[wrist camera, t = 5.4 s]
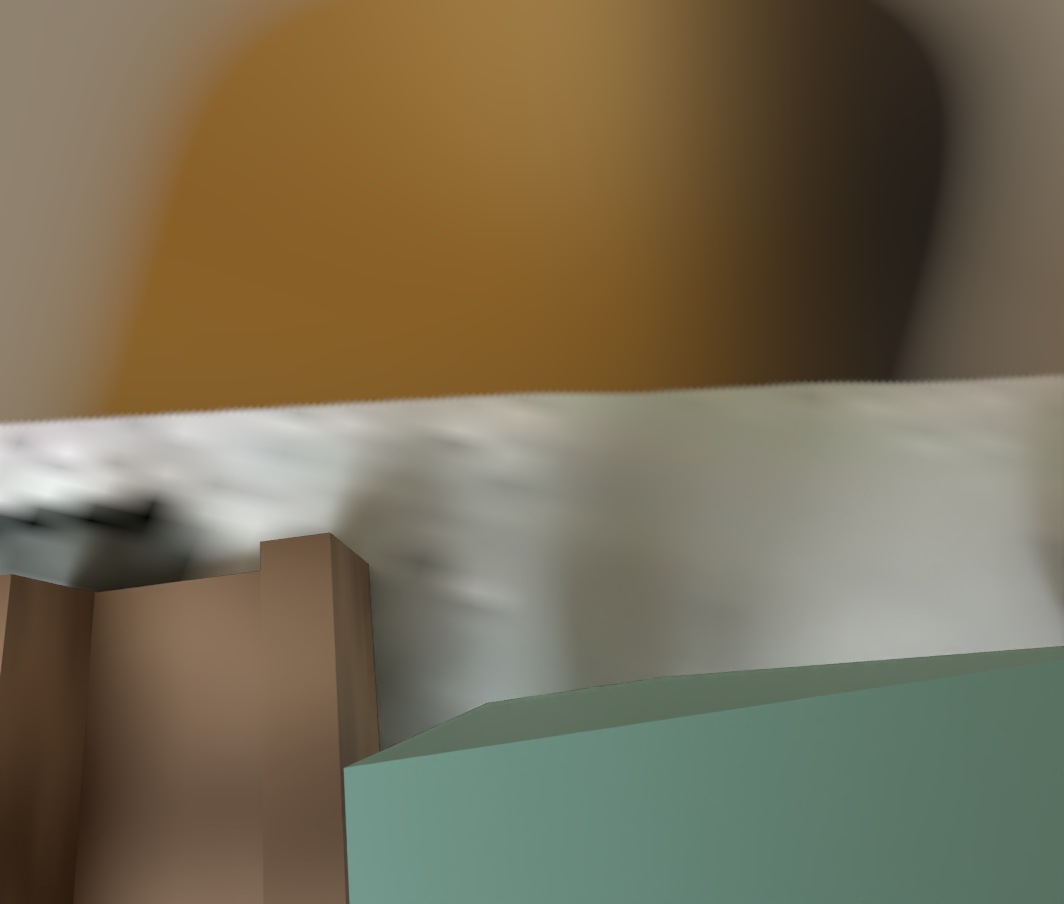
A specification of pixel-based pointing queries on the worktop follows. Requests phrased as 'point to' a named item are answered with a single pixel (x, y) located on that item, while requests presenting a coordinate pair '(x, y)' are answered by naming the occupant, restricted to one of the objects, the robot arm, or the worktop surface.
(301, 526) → the worktop surface
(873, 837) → the block
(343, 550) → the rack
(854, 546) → the worktop surface
